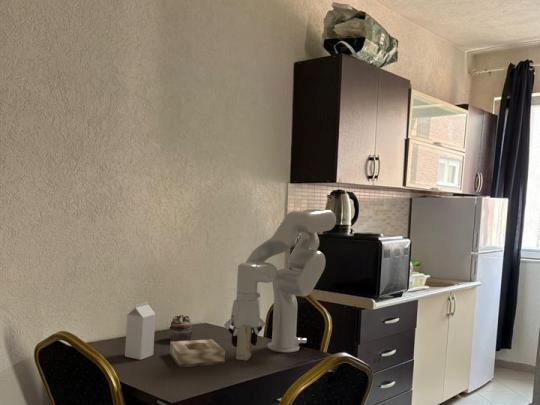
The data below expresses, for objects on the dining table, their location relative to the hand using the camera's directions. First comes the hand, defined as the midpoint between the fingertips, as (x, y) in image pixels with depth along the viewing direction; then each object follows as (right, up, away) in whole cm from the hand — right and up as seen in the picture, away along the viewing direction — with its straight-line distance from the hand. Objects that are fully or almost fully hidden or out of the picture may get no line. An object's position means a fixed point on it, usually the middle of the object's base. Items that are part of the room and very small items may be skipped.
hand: (244, 344), depth 179 cm
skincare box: (0, -5, 0) cm, 5 cm away
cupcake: (-27, -4, +19) cm, 34 cm away
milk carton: (-38, -3, -4) cm, 38 cm away
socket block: (-17, -4, -4) cm, 18 cm away
